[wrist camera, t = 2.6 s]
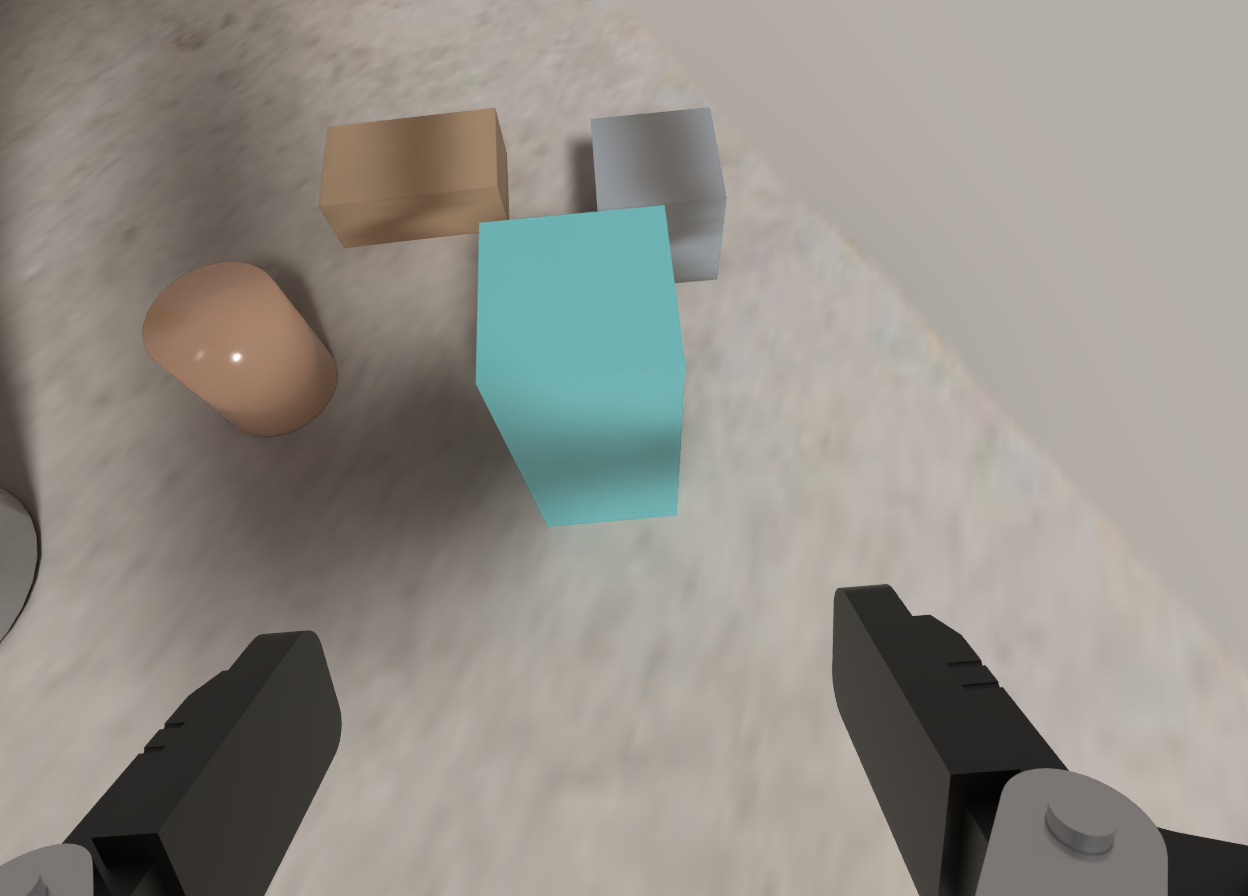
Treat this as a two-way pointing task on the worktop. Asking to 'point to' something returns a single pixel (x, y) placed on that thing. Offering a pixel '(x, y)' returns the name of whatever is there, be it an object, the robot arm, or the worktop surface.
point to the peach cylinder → (241, 348)
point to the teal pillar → (584, 360)
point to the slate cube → (666, 180)
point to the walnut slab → (414, 177)
